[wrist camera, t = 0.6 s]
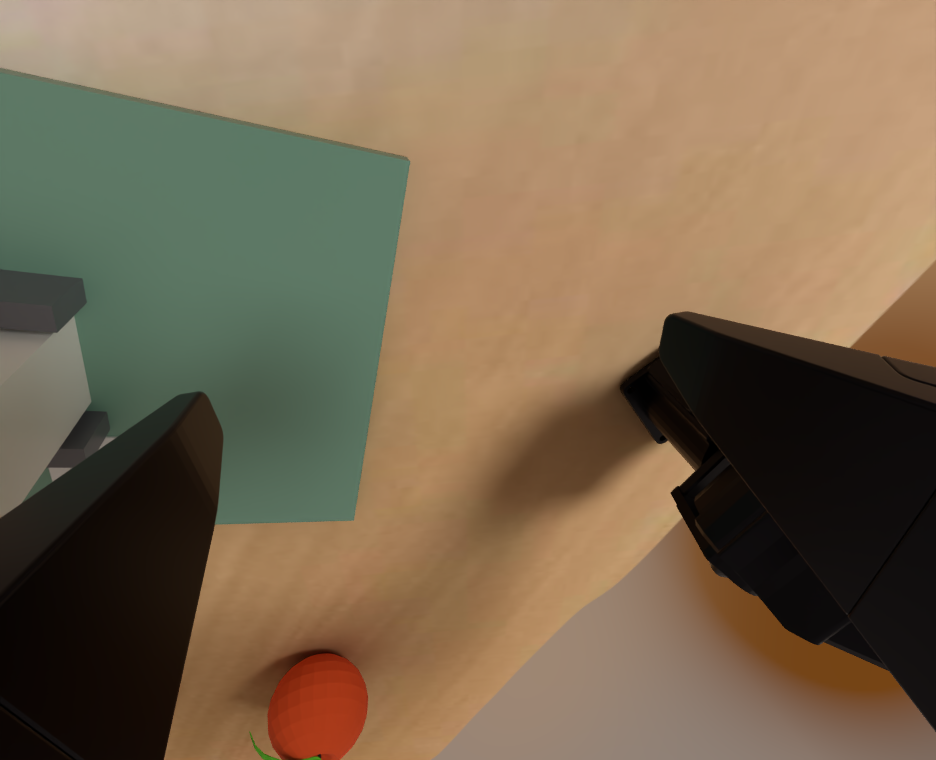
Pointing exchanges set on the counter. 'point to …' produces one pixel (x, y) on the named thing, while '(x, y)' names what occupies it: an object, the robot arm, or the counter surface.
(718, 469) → the robot arm
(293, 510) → the board
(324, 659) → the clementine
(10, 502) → the white tall block
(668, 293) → the counter surface
